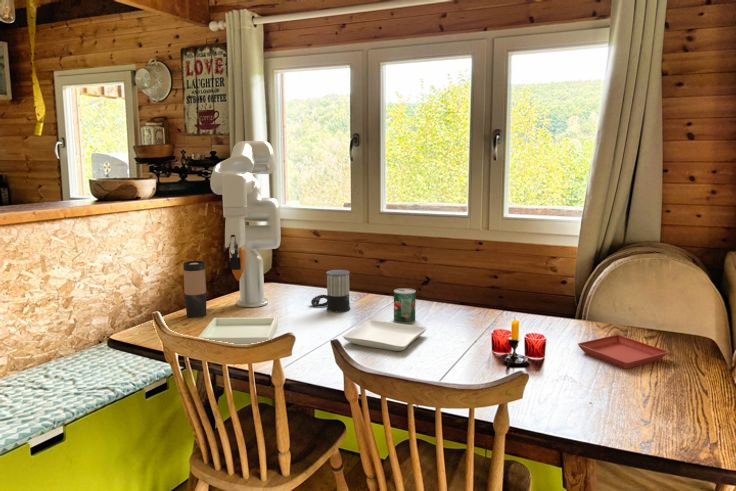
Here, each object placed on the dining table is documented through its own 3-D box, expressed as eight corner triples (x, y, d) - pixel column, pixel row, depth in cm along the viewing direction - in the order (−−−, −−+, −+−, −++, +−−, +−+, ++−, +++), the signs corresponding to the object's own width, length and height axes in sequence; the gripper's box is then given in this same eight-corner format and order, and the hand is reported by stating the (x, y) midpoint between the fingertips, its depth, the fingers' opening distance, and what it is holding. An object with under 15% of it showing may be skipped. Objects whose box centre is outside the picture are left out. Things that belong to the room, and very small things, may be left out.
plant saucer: (626, 373, 158) (627, 362, 157) (575, 353, 173) (576, 342, 173) (669, 362, 166) (670, 351, 165) (616, 344, 182) (617, 334, 181)
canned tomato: (419, 321, 205) (420, 291, 204) (402, 324, 201) (402, 294, 199) (406, 316, 212) (406, 287, 210) (389, 319, 208) (389, 290, 206)
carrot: (231, 279, 189) (229, 234, 186) (246, 278, 189) (245, 233, 187) (229, 282, 184) (227, 236, 181) (244, 282, 184) (243, 236, 182)
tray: (214, 326, 200) (214, 317, 199) (277, 325, 200) (277, 317, 200) (197, 347, 178) (197, 337, 178) (268, 346, 179) (268, 337, 178)
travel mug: (210, 312, 217) (207, 260, 214) (202, 318, 209) (199, 264, 206) (190, 312, 218) (188, 260, 214) (182, 317, 210) (179, 264, 207)
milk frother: (349, 312, 216) (349, 274, 214) (308, 312, 217) (307, 274, 214) (351, 303, 231) (351, 267, 228) (312, 302, 231) (311, 266, 228)
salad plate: (427, 336, 190) (427, 326, 189) (404, 356, 171) (404, 345, 170) (369, 328, 199) (369, 318, 198) (341, 346, 180) (341, 336, 179)
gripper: (229, 209, 191) (231, 262, 194) (217, 215, 174) (219, 273, 177) (251, 209, 191) (253, 262, 194) (242, 215, 174) (244, 273, 177)
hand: (237, 267), depth 186 cm, fingers closed on carrot, 4 cm apart
